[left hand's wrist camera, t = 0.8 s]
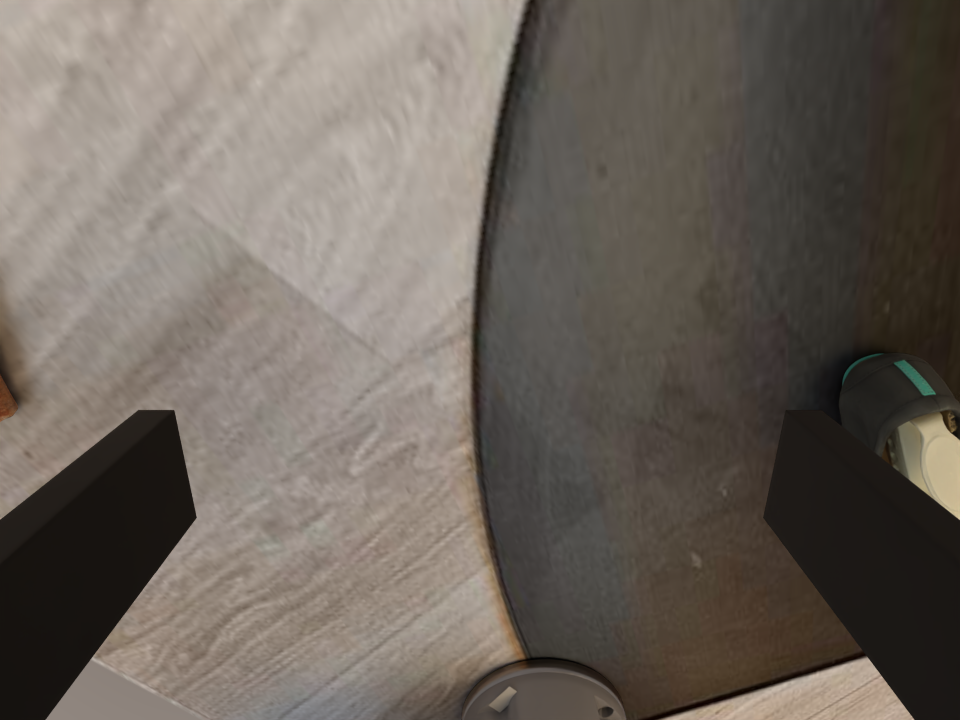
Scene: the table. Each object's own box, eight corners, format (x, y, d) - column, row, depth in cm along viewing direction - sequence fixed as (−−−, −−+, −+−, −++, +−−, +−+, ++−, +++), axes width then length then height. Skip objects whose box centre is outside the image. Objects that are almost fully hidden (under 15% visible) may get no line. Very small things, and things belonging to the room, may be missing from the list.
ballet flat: (857, 607, 50) (926, 695, 42) (790, 372, 42) (859, 427, 34) (956, 576, 48) (1046, 660, 41) (906, 327, 40) (1006, 373, 33)
